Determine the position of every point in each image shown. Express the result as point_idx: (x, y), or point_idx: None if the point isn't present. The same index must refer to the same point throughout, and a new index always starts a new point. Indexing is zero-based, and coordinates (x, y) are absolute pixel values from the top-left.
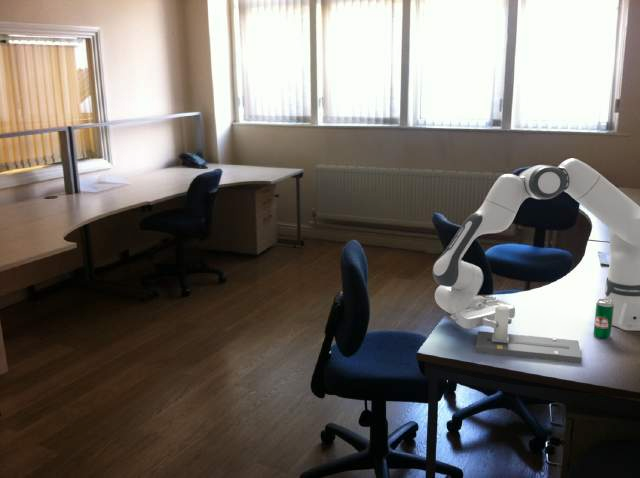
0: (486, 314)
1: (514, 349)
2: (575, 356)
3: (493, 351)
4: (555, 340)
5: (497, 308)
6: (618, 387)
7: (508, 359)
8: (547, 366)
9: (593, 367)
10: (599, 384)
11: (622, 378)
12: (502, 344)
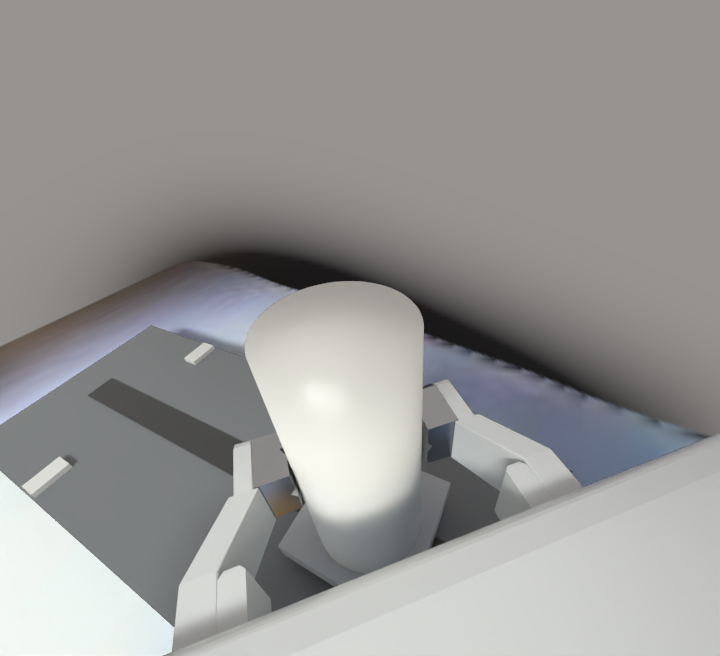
0: (518, 530)
1: None
2: (163, 330)
3: None
4: (63, 459)
5: (392, 335)
6: (207, 264)
7: None
8: None
9: (155, 325)
10: (232, 272)
11: (156, 285)
12: None
